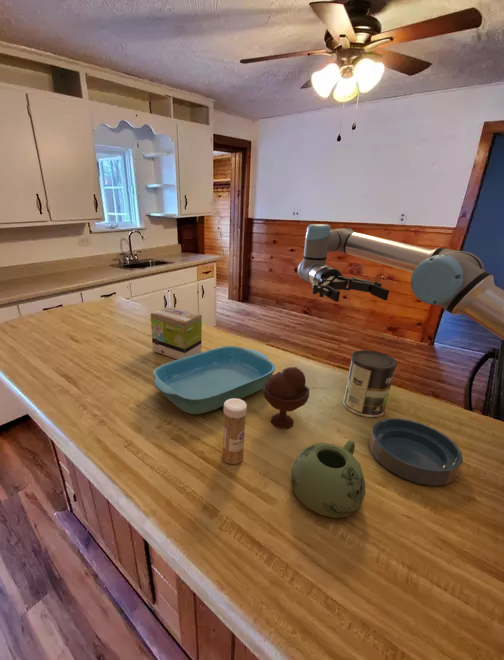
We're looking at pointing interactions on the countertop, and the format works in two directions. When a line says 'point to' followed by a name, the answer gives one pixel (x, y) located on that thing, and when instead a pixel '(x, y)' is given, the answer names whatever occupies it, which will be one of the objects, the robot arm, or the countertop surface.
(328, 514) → the green ceramic pot
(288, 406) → the ice cream bowl
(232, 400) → the sprinkles bottle
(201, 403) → the casserole dish
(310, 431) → the countertop surface
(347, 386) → the coffee can
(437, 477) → the dark blue round tray
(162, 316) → the tea box
